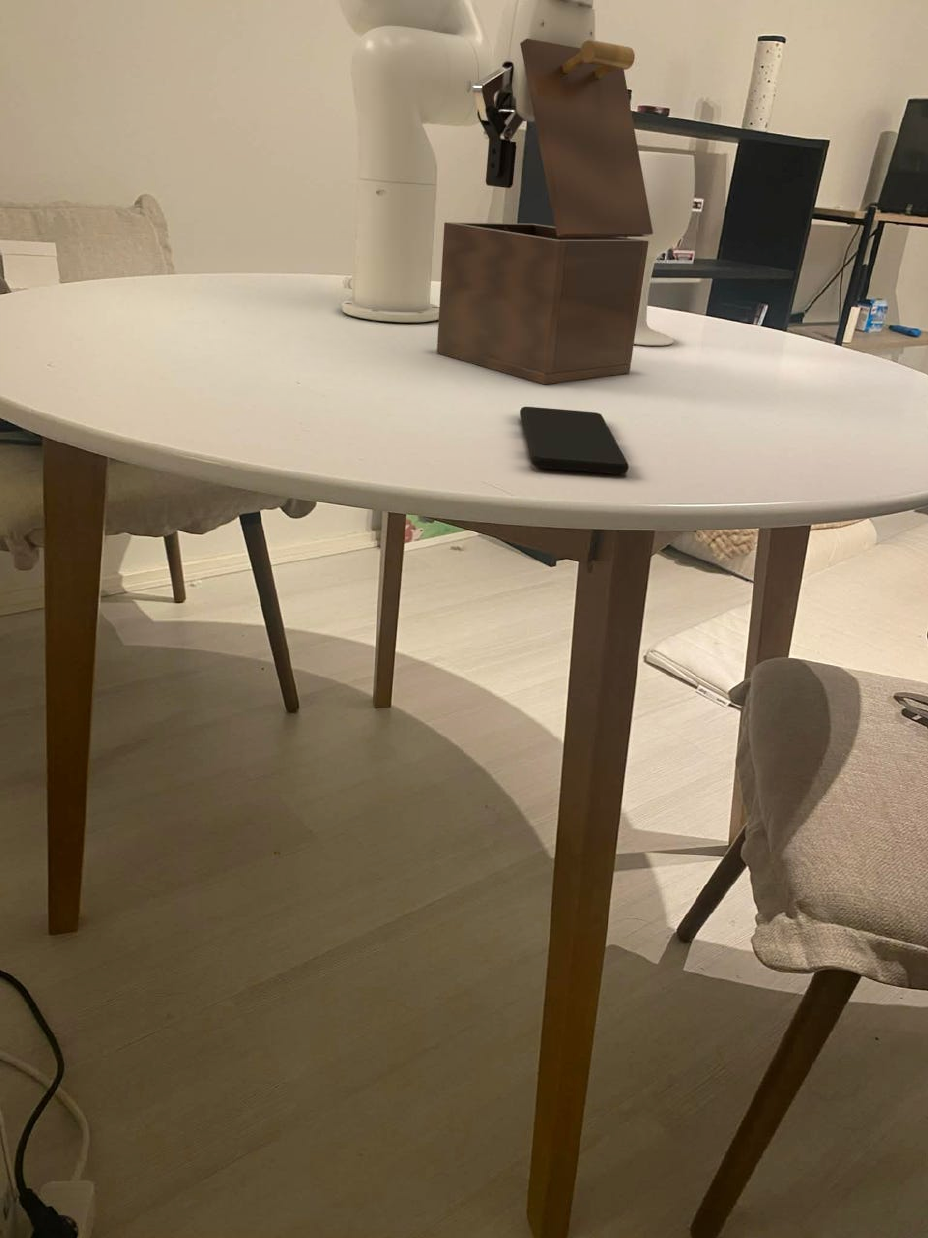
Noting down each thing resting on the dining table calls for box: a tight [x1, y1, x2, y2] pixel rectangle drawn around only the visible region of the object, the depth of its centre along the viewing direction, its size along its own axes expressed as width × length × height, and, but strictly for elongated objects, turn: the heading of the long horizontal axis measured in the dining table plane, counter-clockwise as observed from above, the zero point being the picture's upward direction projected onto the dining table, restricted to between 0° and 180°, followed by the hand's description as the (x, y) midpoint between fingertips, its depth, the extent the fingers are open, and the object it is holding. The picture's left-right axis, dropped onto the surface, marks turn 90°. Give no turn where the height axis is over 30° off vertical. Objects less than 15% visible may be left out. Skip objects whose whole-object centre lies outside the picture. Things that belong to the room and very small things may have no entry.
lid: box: [520, 39, 653, 238], centre depth 90 cm, size 17×13×5 cm
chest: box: [436, 221, 649, 385], centre depth 101 cm, size 16×13×13 cm
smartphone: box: [519, 406, 629, 475], centre depth 75 cm, size 7×1×15 cm
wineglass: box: [626, 150, 696, 347], centre depth 117 cm, size 9×9×21 cm
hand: (533, 187), depth 98 cm, fingers open, 9 cm apart
